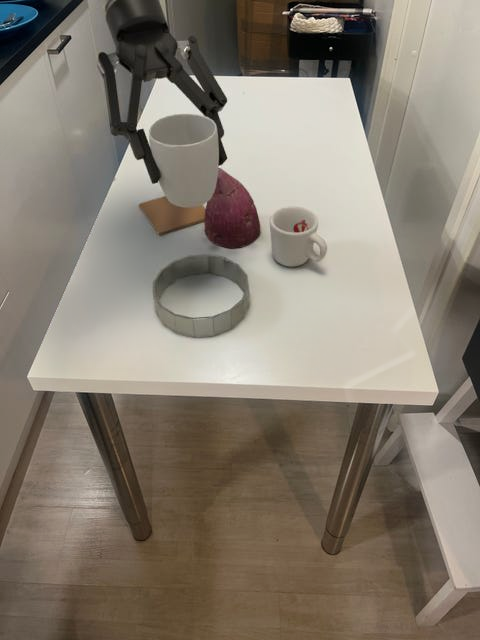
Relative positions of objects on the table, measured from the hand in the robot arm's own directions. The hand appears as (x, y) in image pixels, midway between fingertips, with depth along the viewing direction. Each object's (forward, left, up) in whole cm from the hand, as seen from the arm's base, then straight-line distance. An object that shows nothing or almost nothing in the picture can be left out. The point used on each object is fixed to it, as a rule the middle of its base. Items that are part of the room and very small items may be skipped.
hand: (190, 171), depth 67 cm
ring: (-2, -4, -21) cm, 21 cm away
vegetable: (+11, +10, -21) cm, 26 cm away
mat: (+4, +21, -21) cm, 30 cm away
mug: (+1, +3, -5) cm, 6 cm away
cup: (+17, -3, -21) cm, 27 cm away
